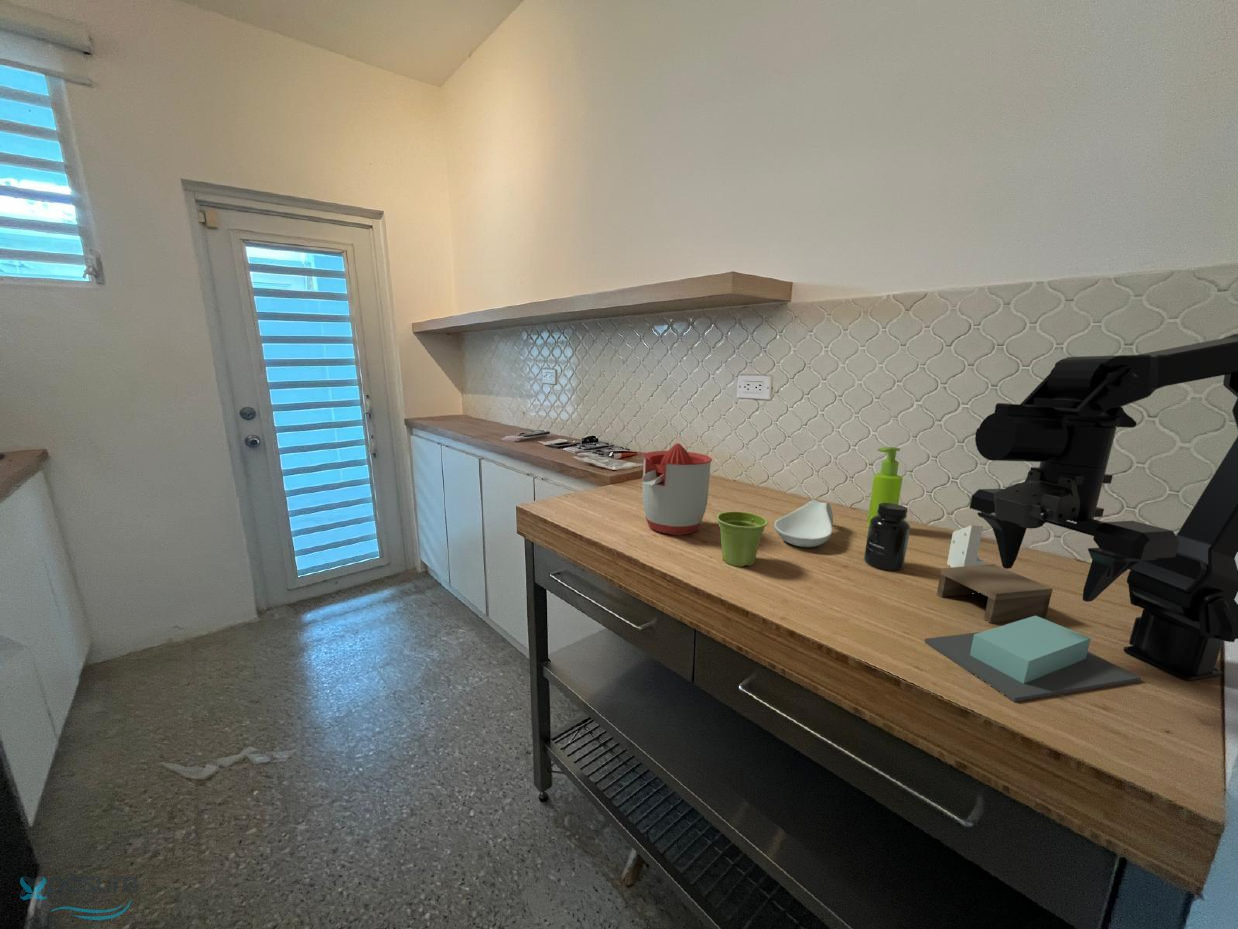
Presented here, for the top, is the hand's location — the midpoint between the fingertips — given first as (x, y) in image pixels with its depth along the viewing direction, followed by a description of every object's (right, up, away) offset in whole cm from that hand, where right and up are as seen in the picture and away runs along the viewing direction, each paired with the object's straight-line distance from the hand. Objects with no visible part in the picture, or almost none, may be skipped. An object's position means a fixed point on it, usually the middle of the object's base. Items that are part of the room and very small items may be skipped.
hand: (1044, 583), depth 58 cm
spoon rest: (-11, -2, +47) cm, 48 cm away
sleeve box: (+6, -8, +17) cm, 20 cm away
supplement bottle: (-2, -5, +32) cm, 32 cm away
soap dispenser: (+9, -1, +54) cm, 54 cm away
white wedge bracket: (+13, -6, +30) cm, 33 cm away
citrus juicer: (-42, 0, +49) cm, 65 cm away
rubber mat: (0, -11, +2) cm, 11 cm away
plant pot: (-31, -4, +31) cm, 44 cm away
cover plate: (0, -10, +2) cm, 10 cm away
